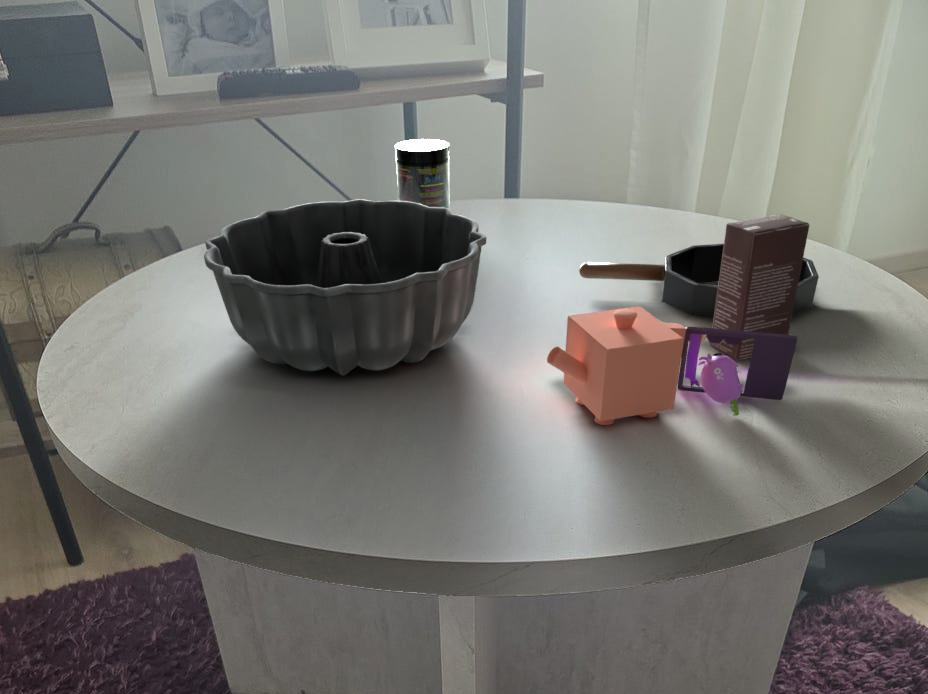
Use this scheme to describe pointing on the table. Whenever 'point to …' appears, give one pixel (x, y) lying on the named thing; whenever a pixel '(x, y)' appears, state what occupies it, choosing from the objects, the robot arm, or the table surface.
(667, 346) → the pink cube teapot
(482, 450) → the table surface
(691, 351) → the purple frame figurine
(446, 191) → the supplement container
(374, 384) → the table surface
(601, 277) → the frying pan
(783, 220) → the box
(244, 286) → the bundt pan
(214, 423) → the table surface
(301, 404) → the table surface
